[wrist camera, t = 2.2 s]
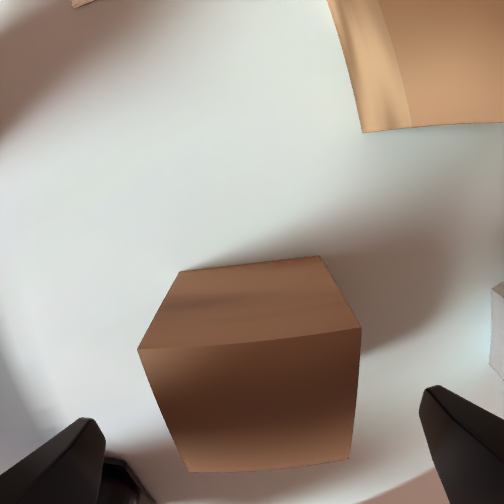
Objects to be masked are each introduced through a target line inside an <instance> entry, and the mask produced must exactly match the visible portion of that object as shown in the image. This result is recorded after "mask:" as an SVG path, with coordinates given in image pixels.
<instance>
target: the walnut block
mask: <svg viewBox="0 0 504 504" xmlns="http://www.w3.org/2000/svg"><path fill="white" fill-rule="evenodd" d="M360 346H361V325H360V324H359V322H358V320H357V318H356V317H355V315H354V313H353V311H352V310H351V308H350V306H349V305H348V303H347V301H346V299H345V298H344V296H343V294H342V293H341V291H340V289H339V288H338V286H337V284H336V282H335V281H334V279H333V277H332V276H331V274H330V272H329V271H328V269H327V268H326V266H325V264H324V263H323V261H322V259H321V258H320V256H312V257H303V258H295V259H287V260H278V261H270V262H262V263H253V264H245V265H236V266H227V267H219V268H210V269H201V270H192V271H183V272H179V273H178V275H177V277H176V279H175V281H174V282H173V284H172V286H171V288H170V289H169V291H168V293H167V295H166V297H165V298H164V300H163V302H162V304H161V306H160V308H159V309H158V311H157V313H156V315H155V317H154V319H153V320H152V322H151V324H150V326H149V328H148V330H147V331H146V333H145V335H144V337H143V339H142V341H141V343H140V345H139V347H138V348H137V351H138V354H139V356H140V359H141V362H142V365H143V368H144V370H145V373H146V376H147V378H148V381H149V383H150V386H151V389H152V391H153V394H154V396H155V399H156V401H157V404H158V406H159V408H160V411H161V413H162V416H163V418H164V420H165V422H166V425H167V427H168V429H169V432H170V434H171V436H172V438H173V440H174V443H175V445H176V447H177V449H178V451H179V453H180V455H181V457H182V459H183V461H184V463H185V465H186V467H187V469H188V471H189V472H206V473H214V472H247V471H263V470H275V469H285V468H293V467H301V466H309V465H316V464H322V463H328V462H334V461H339V460H344V459H349V454H350V448H351V441H352V433H353V425H354V417H355V408H356V398H357V388H358V376H359V362H360Z"/></svg>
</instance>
